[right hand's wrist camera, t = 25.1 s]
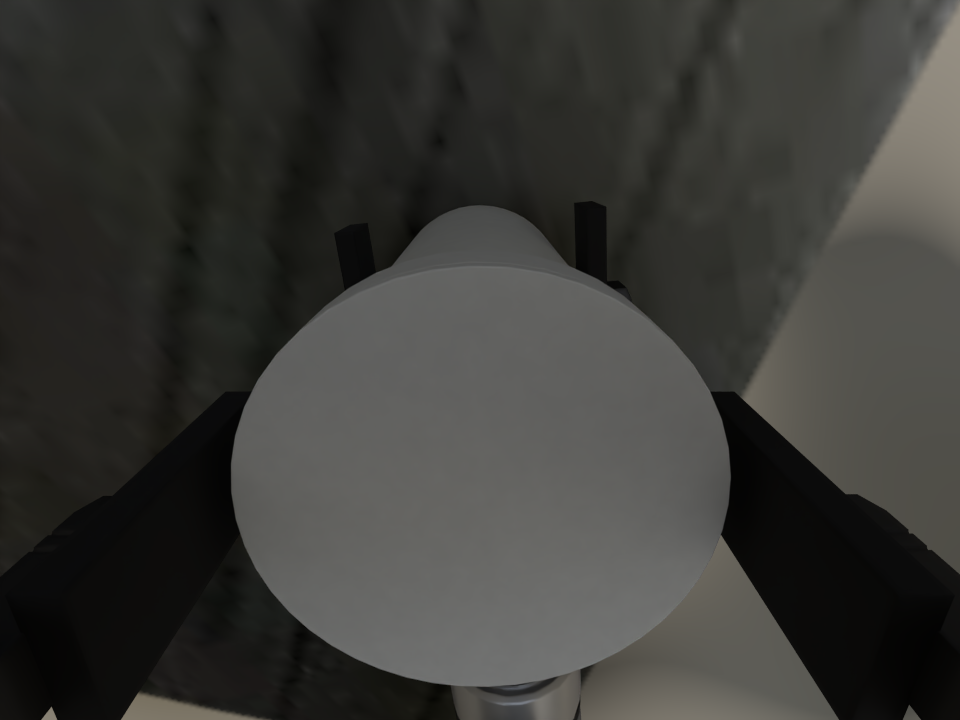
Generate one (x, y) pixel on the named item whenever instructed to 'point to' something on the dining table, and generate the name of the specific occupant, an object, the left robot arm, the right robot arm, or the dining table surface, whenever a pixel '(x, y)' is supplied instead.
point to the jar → (480, 234)
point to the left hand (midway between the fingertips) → (469, 216)
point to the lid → (480, 471)
